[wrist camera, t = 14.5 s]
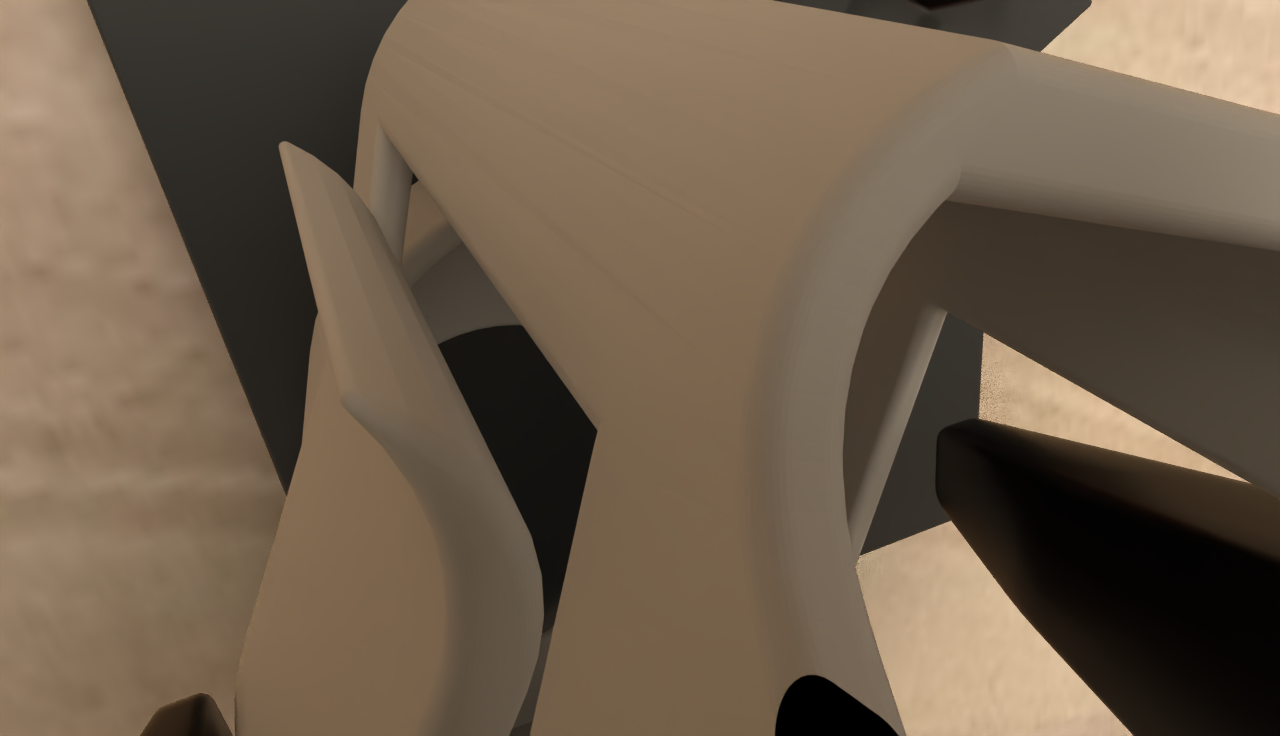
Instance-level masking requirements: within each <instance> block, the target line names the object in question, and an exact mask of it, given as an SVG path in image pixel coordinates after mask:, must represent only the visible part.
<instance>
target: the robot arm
mask: <svg viewBox="0 0 1280 736" xmlns="http://www.w3.org/2000/svg"><path fill="white" fill-rule="evenodd" d="M935 490H936V495H937V498H938V501H939V503H940V505H941V507H942V509H943V510H944V512H945V513H946V514H947V516H948V517H949V518H950V520H951V521H952V522H953V524H954V525H955V526H956V528H957V529H958V530H959V532H960V533H961V534H962V536H963V537H964V538H965V540H966V541H967V542H968V544H969V545H970V546H971V548H972V549H973V550H974V552H975V553H976V554H977V556H978V557H979V558H980V560H981V561H982V562H983V564H984V565H985V566H986V568H987V569H988V570H989V572H990V573H991V574H992V576H993V577H994V578H995V580H996V581H997V582H998V584H999V585H1000V586H1001V588H1002V589H1003V590H1004V592H1005V593H1006V594H1007V596H1008V597H1009V598H1010V599H1011V601H1012V602H1013V603H1014V604H1015V606H1016V607H1017V608H1018V609H1019V611H1020V612H1021V613H1022V614H1023V615H1024V617H1025V618H1026V619H1027V620H1028V621H1029V622H1030V623H1031V624H1032V626H1033V627H1034V628H1035V629H1036V630H1037V631H1038V632H1039V633H1040V635H1041V636H1042V637H1043V638H1044V639H1045V640H1046V641H1047V642H1048V643H1049V644H1050V645H1051V646H1052V648H1053V649H1054V650H1055V651H1056V652H1057V653H1058V654H1059V655H1060V656H1061V657H1062V658H1063V659H1064V661H1065V662H1066V663H1067V664H1068V665H1069V666H1070V667H1071V668H1072V669H1073V670H1074V671H1075V673H1076V674H1077V675H1078V676H1079V677H1080V678H1081V679H1082V680H1083V681H1084V682H1085V683H1086V684H1087V686H1088V687H1089V688H1090V689H1091V690H1092V691H1093V692H1094V693H1095V694H1096V695H1097V696H1098V697H1099V699H1100V700H1101V701H1102V702H1103V703H1104V704H1105V705H1106V706H1107V707H1108V708H1109V709H1110V711H1111V712H1112V713H1113V714H1114V715H1115V716H1116V717H1117V718H1118V719H1119V720H1120V721H1121V722H1122V724H1123V725H1124V726H1125V727H1126V728H1127V729H1128V730H1129V731H1130V732H1131V733H1132V734H1133V735H1134V736H1280V499H1278V498H1276V497H1275V496H1273V495H1271V494H1269V493H1268V492H1266V491H1264V490H1262V489H1260V488H1259V487H1257V486H1255V485H1253V484H1251V483H1247V482H1243V481H1238V480H1234V479H1230V478H1226V477H1222V476H1217V475H1213V474H1209V473H1205V472H1201V471H1196V470H1192V469H1188V468H1184V467H1180V466H1175V465H1171V464H1167V463H1163V462H1159V461H1154V460H1150V459H1146V458H1142V457H1138V456H1133V455H1129V454H1125V453H1121V452H1116V451H1112V450H1108V449H1104V448H1100V447H1096V446H1091V445H1087V444H1083V443H1079V442H1075V441H1070V440H1066V439H1062V438H1058V437H1054V436H1049V435H1045V434H1041V433H1037V432H1033V431H1028V430H1024V429H1020V428H1016V427H1012V426H1007V425H1003V424H999V423H995V422H991V421H986V420H982V419H978V418H970V419H966V420H963V421H960V422H957V423H954V424H952V425H949V426H946V427H944V428H943V429H942V430H940V432H939V434H938V436H937V441H936V470H935ZM140 736H233V735H232V733H231V731H230V729H229V727H228V725H227V723H226V721H225V719H224V718H223V716H222V714H221V712H220V710H219V708H218V706H217V704H216V702H215V701H214V699H213V698H212V697H211V696H210V695H209V694H205V693H198V694H195V695H193V696H190V697H187V698H184V699H181V700H179V701H176V702H173V703H170V704H167V705H165V706H163V707H161V708H160V709H159V710H158V711H157V712H156V713H155V714H154V715H153V716H152V718H151V720H150V721H149V723H148V724H147V726H146V727H145V729H144V730H143V732H142V733H141V735H140Z"/></svg>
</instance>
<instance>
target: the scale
mask: <svg viewBox="0 0 1280 736" xmlns="http://www.w3.org/2000/svg"><path fill="white" fill-rule="evenodd" d="M407 1H408V0H87V2H88V5H89V7H90V10H91V12H92V15H93V17H94V20H95V22H96V25H97V27H98V30H99V32H100V35H101V37H102V40H103V42H104V45H105V47H106V49H107V52H108V54H109V57H110V59H111V62H112V64H113V67H114V69H115V72H116V74H117V77H118V79H119V82H120V84H121V87H122V89H123V92H124V94H125V97H126V99H127V102H128V104H129V107H130V109H131V112H132V114H133V117H134V119H135V122H136V124H137V127H138V129H139V131H140V134H141V136H142V139H143V141H144V144H145V146H146V149H147V151H148V154H149V156H150V159H151V161H152V164H153V166H154V169H155V171H156V174H157V176H158V179H159V181H160V184H161V186H162V189H163V191H164V194H165V196H166V199H167V201H168V204H169V206H170V209H171V211H172V214H173V216H174V218H175V221H176V223H177V226H178V228H179V231H180V233H181V236H182V238H183V241H184V243H185V246H186V248H187V251H188V253H189V256H190V258H191V261H192V263H193V266H194V268H195V271H196V273H197V276H198V278H199V281H200V283H201V286H202V288H203V291H204V293H205V296H206V298H207V300H208V303H209V305H210V308H211V310H212V313H213V315H214V318H215V320H216V323H217V325H218V328H219V330H220V333H221V335H222V338H223V340H224V343H225V345H226V348H227V350H228V353H229V355H230V358H231V360H232V363H233V365H234V368H235V370H236V373H237V375H238V378H239V380H240V382H241V385H242V387H243V390H244V392H245V395H246V397H247V400H248V402H249V405H250V407H251V410H252V412H253V415H254V417H255V420H256V422H257V425H258V427H259V430H260V432H261V435H262V437H263V440H264V442H265V445H266V447H267V450H268V452H269V455H270V457H271V460H272V462H273V464H274V467H275V469H276V472H277V474H278V477H279V479H280V482H281V484H282V487H283V489H284V492H285V494H286V497H287V494H288V491H289V487H290V484H291V480H292V477H293V473H294V470H295V466H296V463H297V459H298V456H299V453H300V449H301V446H302V437H303V425H304V414H305V403H306V391H307V380H308V368H309V357H310V349H311V343H312V337H313V331H314V325H315V320H316V317H317V314H318V309H317V304H316V300H315V296H314V292H313V288H312V284H311V280H310V275H309V271H308V267H307V263H306V259H305V255H304V251H303V246H302V242H301V238H300V234H299V230H298V226H297V222H296V217H295V213H294V209H293V205H292V201H291V197H290V193H289V188H288V184H287V180H286V176H285V172H284V168H283V164H282V159H281V155H280V151H279V144H280V143H281V142H283V141H286V142H289V143H291V144H293V145H295V146H296V147H298V148H300V149H302V150H304V151H306V152H307V153H309V154H311V155H313V156H314V157H316V158H317V159H318V160H320V161H321V162H322V163H324V164H325V165H326V166H328V167H329V168H331V169H332V170H333V171H335V172H336V173H337V174H338V175H339V176H340V177H341V178H342V179H343V180H344V181H345V182H346V183H347V184H348V185H349V186H350V187H351V188H352V189H353V186H354V176H355V166H356V156H357V146H358V136H359V126H360V116H361V108H362V102H363V96H364V90H365V84H366V81H367V77H368V74H369V71H370V68H371V64H372V61H373V58H374V56H375V54H376V52H377V49H378V47H379V45H380V43H381V41H382V38H383V36H384V34H385V33H386V31H387V29H388V28H389V26H390V25H391V23H392V22H393V20H394V18H395V17H396V15H397V14H398V12H399V11H400V10H401V8H402V7H403V6H404V5H405V4H406V2H407ZM774 1H779V2H785V3H790V4H796V5H802V6H807V7H813V8H818V9H824V10H829V11H835V12H840V13H846V14H852V15H857V16H863V17H868V18H874V19H879V20H885V21H890V22H896V23H902V24H907V25H913V26H918V27H924V28H929V29H935V30H941V31H946V32H952V33H957V34H963V35H968V36H974V37H979V38H985V39H991V40H996V41H1000V42H1003V43H1007V44H1011V45H1015V46H1019V47H1022V48H1026V49H1030V50H1034V51H1038V52H1040V51H1042V50H1043V49H1044V48H1045V47H1046V46H1047V45H1048V44H1049V43H1050V42H1051V41H1052V40H1053V39H1055V38H1056V37H1057V36H1058V35H1059V34H1060V33H1061V32H1062V31H1063V30H1064V29H1065V28H1067V27H1068V26H1069V25H1070V24H1071V23H1072V22H1073V21H1074V20H1075V19H1076V18H1077V17H1078V16H1080V15H1081V14H1082V13H1083V12H1084V11H1085V10H1086V9H1087V8H1088V7H1089V6H1090V5H1091V3H1092V1H1091V0H774ZM417 181H419V180H418V178H417V177H416V176H415V174H414V173H413V176H412V184H411V186H412V185H413V184H415V183H416V182H417ZM438 347H439V349H440V351H441V353H442V355H443V357H444V359H445V361H446V363H447V365H448V367H449V369H450V371H451V373H452V375H453V377H454V379H455V382H456V384H457V386H458V388H459V390H460V392H461V394H462V396H463V398H464V400H465V402H466V404H467V406H468V408H469V410H470V412H471V414H472V416H473V418H474V420H475V422H476V424H477V426H478V428H479V430H480V432H481V434H482V436H483V438H484V440H485V443H486V445H487V447H488V449H489V451H490V453H491V455H492V457H493V459H494V461H495V463H496V465H497V467H498V469H499V471H500V473H501V475H502V477H503V479H504V481H505V483H506V485H507V487H508V489H509V491H510V493H511V495H512V497H513V499H514V501H515V504H516V506H517V508H518V510H519V512H520V514H521V516H522V518H523V520H524V522H525V524H526V526H527V528H528V530H529V532H530V534H531V537H532V540H533V544H534V548H535V552H536V555H537V559H538V563H539V567H540V570H541V574H542V588H543V605H544V620H543V627H542V633H544V632H545V631H547V630H548V629H550V628H551V627H553V626H554V624H555V619H556V615H557V610H558V606H559V601H560V597H561V592H562V588H563V583H564V579H565V574H566V570H567V565H568V561H569V556H570V551H571V547H572V542H573V538H574V533H575V529H576V524H577V520H578V515H579V511H580V506H581V502H582V497H583V493H584V488H585V484H586V479H587V475H588V470H589V466H590V461H591V457H592V452H593V448H594V444H595V440H596V436H597V432H598V430H597V429H596V428H595V426H594V425H593V423H592V422H591V421H590V419H589V418H588V416H587V415H586V414H585V412H584V411H583V409H582V408H581V407H580V405H579V404H578V402H577V401H576V400H575V398H574V397H573V395H572V394H571V393H570V391H569V390H568V388H567V387H566V386H565V384H564V383H563V381H562V380H561V379H560V377H559V376H558V374H557V373H556V372H555V370H554V369H553V367H552V366H551V365H550V363H549V362H548V360H547V359H546V358H545V356H544V355H543V353H542V352H541V351H540V349H539V348H538V346H537V345H536V344H535V342H534V341H533V339H532V338H531V337H530V335H529V334H528V332H527V331H526V330H525V328H524V327H523V326H522V325H507V326H494V327H489V328H483V329H478V330H474V331H471V332H468V333H464V334H461V335H458V336H456V337H453V338H451V339H449V340H446V341H444V342H441V343H440V344H438ZM982 348H983V332H982V331H980V330H979V329H977V328H975V327H973V326H972V325H970V324H968V323H966V322H965V321H963V320H961V319H959V318H957V317H956V316H954V315H952V314H950V313H949V312H948V313H947V315H946V317H945V320H944V322H943V325H942V328H941V331H940V334H939V336H938V339H937V342H936V345H935V347H934V350H933V353H932V356H931V358H930V361H929V364H928V367H927V370H926V372H925V375H924V378H923V381H922V383H921V386H920V389H919V392H918V394H917V397H916V400H915V403H914V406H913V408H912V411H911V414H910V417H909V419H908V422H907V425H906V428H905V430H904V433H903V436H902V439H901V442H900V444H899V447H898V450H897V453H896V455H895V458H894V461H893V464H892V466H891V469H890V472H889V475H888V478H887V480H886V483H885V486H884V489H883V491H882V494H881V497H880V500H879V503H878V505H877V508H876V511H875V514H874V516H873V519H872V522H871V525H870V527H869V530H868V533H867V536H866V539H865V541H864V544H863V547H862V550H861V552H860V555H859V556H861V555H863V554H866V553H868V552H871V551H874V550H876V549H879V548H881V547H884V546H886V545H889V544H892V543H894V542H897V541H899V540H902V539H904V538H907V537H910V536H912V535H915V534H917V533H920V532H923V531H925V530H928V529H930V528H933V527H935V526H938V525H941V524H943V523H946V522H948V521H951V520H950V518H949V517H948V516H947V514H946V513H945V512H944V510H943V509H942V507H941V505H940V503H939V501H938V498H937V495H936V490H935V470H936V441H937V436H938V434H939V432H940V430H942V429H943V428H944V427H946V426H949V425H952V424H954V423H957V422H960V421H963V420H966V419H970V418H978V419H979V401H980V383H981V366H982Z"/></svg>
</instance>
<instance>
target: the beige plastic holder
mask: <svg viewBox="0 0 1280 736" xmlns="http://www.w3.org/2000/svg"><path fill="white" fill-rule="evenodd" d="M279 151H280V155H281V159H282V164H283V168H284V172H285V176H286V180H287V184H288V188H289V193H290V197H291V201H292V205H293V209H294V213H295V217H296V222H297V226H298V230H299V234H300V238H301V242H302V246H303V251H304V255H305V259H306V263H307V267H308V271H309V275H310V280H311V284H312V288H313V292H314V296H315V300H316V304H317V309H318V314H317V317H316V320H315V325H314V331H313V337H312V343H311V349H310V357H309V368H308V380H307V391H306V403H305V414H304V425H303V437H302V446H301V449H300V453H299V456H298V459H297V463H296V466H295V470H294V473H293V477H292V480H291V484H290V487H289V491H288V494H287V497H286V501H285V504H284V508H283V511H282V515H281V518H280V522H279V525H278V528H277V532H276V535H275V539H274V542H273V546H272V549H271V553H270V556H269V560H268V563H267V566H266V570H265V573H264V577H263V580H262V584H261V587H260V591H259V594H258V597H257V601H256V604H255V608H254V611H253V615H252V618H251V622H250V625H249V629H248V632H247V635H246V639H245V642H244V646H243V649H242V654H241V658H240V662H239V667H238V671H237V678H236V688H235V698H234V702H235V736H906V733H905V730H904V727H903V724H902V721H901V718H900V715H899V712H898V709H897V706H896V703H895V700H894V697H893V694H892V691H891V688H890V685H889V682H888V679H887V676H886V673H885V669H884V666H883V663H882V660H881V657H880V654H879V651H878V648H877V644H876V641H875V638H874V635H873V631H872V628H871V625H870V622H869V618H868V614H867V610H866V607H865V603H864V599H863V595H862V591H861V588H860V584H859V580H858V576H857V573H856V568H855V566H856V563H857V561H858V558H859V555H860V552H861V550H862V547H863V544H864V541H865V539H866V536H867V533H868V530H869V527H870V525H871V522H872V519H873V516H874V514H875V511H876V508H877V505H878V503H879V500H880V497H881V494H882V491H883V489H884V486H885V483H886V480H887V478H888V475H889V472H890V469H891V466H892V464H893V461H894V458H895V455H896V453H897V450H898V447H899V444H900V442H901V439H902V436H903V433H904V430H905V428H906V425H907V422H908V419H909V417H910V414H911V411H912V408H913V406H914V403H915V400H916V397H917V394H918V392H919V389H920V386H921V383H922V381H923V378H924V375H925V372H926V370H927V367H928V364H929V361H930V358H931V356H932V353H933V350H934V347H935V345H936V342H937V339H938V336H939V334H940V331H941V328H942V325H943V322H944V320H945V317H946V315H947V313H948V312H949V313H950V314H952V315H954V316H956V317H957V318H959V319H961V320H963V321H965V322H966V323H968V324H970V325H972V326H973V327H975V328H977V329H979V330H980V331H982V332H984V333H986V334H988V335H989V336H991V337H993V338H995V339H996V340H998V341H1000V342H1002V343H1004V344H1005V345H1007V346H1009V347H1011V348H1012V349H1014V350H1016V351H1018V352H1019V353H1021V354H1023V355H1025V356H1027V357H1028V358H1030V359H1032V360H1034V361H1035V362H1037V363H1039V364H1041V365H1042V366H1044V367H1046V368H1048V369H1050V370H1051V371H1053V372H1055V373H1057V374H1058V375H1060V376H1062V377H1064V378H1066V379H1067V380H1069V381H1071V382H1073V383H1074V384H1076V385H1078V386H1080V387H1081V388H1083V389H1085V390H1087V391H1089V392H1090V393H1092V394H1094V395H1096V396H1097V397H1099V398H1101V399H1103V400H1105V401H1106V402H1108V403H1110V404H1112V405H1113V406H1115V407H1117V408H1119V409H1120V410H1122V411H1124V412H1126V413H1128V414H1129V415H1131V416H1133V417H1135V418H1136V419H1138V420H1140V421H1142V422H1143V423H1145V424H1147V425H1149V426H1151V427H1152V428H1154V429H1156V430H1158V431H1159V432H1161V433H1163V434H1165V435H1167V436H1168V437H1170V438H1172V439H1174V440H1175V441H1177V442H1179V443H1181V444H1182V445H1184V446H1186V447H1188V448H1190V449H1191V450H1193V451H1195V452H1197V453H1198V454H1200V455H1202V456H1204V457H1205V458H1207V459H1209V460H1211V461H1213V462H1214V463H1216V464H1218V465H1220V466H1221V467H1223V468H1225V469H1227V470H1229V471H1230V472H1232V473H1234V474H1236V475H1237V476H1239V477H1241V478H1243V479H1244V480H1246V481H1248V482H1250V483H1252V484H1253V485H1255V486H1257V487H1259V488H1260V489H1262V490H1264V491H1266V492H1268V493H1269V494H1271V495H1273V496H1275V497H1276V498H1278V499H1280V115H1279V114H1275V113H1271V112H1267V111H1263V110H1259V109H1256V108H1252V107H1248V106H1244V105H1240V104H1236V103H1233V102H1229V101H1225V100H1221V99H1217V98H1214V97H1210V96H1206V95H1202V94H1198V93H1194V92H1191V91H1187V90H1183V89H1179V88H1175V87H1171V86H1168V85H1164V84H1160V83H1156V82H1152V81H1149V80H1145V79H1141V78H1137V77H1133V76H1129V75H1126V74H1122V73H1118V72H1114V71H1110V70H1106V69H1103V68H1099V67H1095V66H1091V65H1087V64H1084V63H1080V62H1076V61H1072V60H1068V59H1064V58H1061V57H1057V56H1053V55H1049V54H1045V53H1042V52H1038V51H1034V50H1030V49H1026V48H1022V47H1019V46H1015V45H1011V44H1007V43H1003V42H1000V41H996V40H991V39H985V38H979V37H974V36H968V35H963V34H957V33H952V32H946V31H941V30H935V29H929V28H924V27H918V26H913V25H907V24H902V23H896V22H890V21H885V20H879V19H874V18H868V17H863V16H857V15H852V14H846V13H840V12H835V11H829V10H824V9H818V8H813V7H807V6H802V5H796V4H790V3H785V2H779V1H774V0H408V1H407V2H406V4H405V5H404V6H403V7H402V8H401V10H400V11H399V12H398V14H397V15H396V17H395V18H394V20H393V22H392V23H391V25H390V26H389V28H388V29H387V31H386V33H385V34H384V36H383V38H382V41H381V43H380V45H379V47H378V49H377V52H376V54H375V56H374V58H373V61H372V64H371V68H370V71H369V74H368V77H367V81H366V84H365V90H364V96H363V102H362V108H361V116H360V126H359V136H358V146H357V156H356V166H355V176H354V186H353V189H352V188H351V187H350V186H349V185H348V184H347V183H346V182H345V181H344V180H343V179H342V178H341V177H340V176H339V175H338V174H337V173H336V172H335V171H333V170H332V169H331V168H329V167H328V166H326V165H325V164H324V163H322V162H321V161H320V160H318V159H317V158H316V157H314V156H313V155H311V154H309V153H307V152H306V151H304V150H302V149H300V148H298V147H296V146H295V145H293V144H291V143H289V142H286V141H283V142H281V143H280V144H279ZM413 173H414V174H415V176H416V177H417V178H418V180H419V181H417V182H416V183H415V184H413V185H412V186H411V184H412V176H413ZM507 325H522V326H523V327H524V328H525V330H526V331H527V332H528V334H529V335H530V337H531V338H532V339H533V341H534V342H535V344H536V345H537V346H538V348H539V349H540V351H541V352H542V353H543V355H544V356H545V358H546V359H547V360H548V362H549V363H550V365H551V366H552V367H553V369H554V370H555V372H556V373H557V374H558V376H559V377H560V379H561V380H562V381H563V383H564V384H565V386H566V387H567V388H568V390H569V391H570V393H571V394H572V395H573V397H574V398H575V400H576V401H577V402H578V404H579V405H580V407H581V408H582V409H583V411H584V412H585V414H586V415H587V416H588V418H589V419H590V421H591V422H592V423H593V425H594V426H595V428H596V429H597V430H598V432H597V436H596V440H595V444H594V448H593V452H592V457H591V461H590V466H589V470H588V475H587V479H586V484H585V488H584V493H583V497H582V502H581V506H580V511H579V515H578V520H577V524H576V529H575V533H574V538H573V542H572V547H571V551H570V556H569V561H568V565H567V570H566V574H565V579H564V583H563V588H562V592H561V597H560V601H559V606H558V610H557V615H556V619H555V624H554V626H553V627H551V628H550V629H548V630H547V631H545V632H544V633H542V627H543V620H544V605H543V588H542V574H541V570H540V567H539V563H538V559H537V555H536V552H535V548H534V544H533V540H532V537H531V534H530V532H529V530H528V528H527V526H526V524H525V522H524V520H523V518H522V516H521V514H520V512H519V510H518V508H517V506H516V504H515V501H514V499H513V497H512V495H511V493H510V491H509V489H508V487H507V485H506V483H505V481H504V479H503V477H502V475H501V473H500V471H499V469H498V467H497V465H496V463H495V461H494V459H493V457H492V455H491V453H490V451H489V449H488V447H487V445H486V443H485V440H484V438H483V436H482V434H481V432H480V430H479V428H478V426H477V424H476V422H475V420H474V418H473V416H472V414H471V412H470V410H469V408H468V406H467V404H466V402H465V400H464V398H463V396H462V394H461V392H460V390H459V388H458V386H457V384H456V382H455V379H454V377H453V375H452V373H451V371H450V369H449V367H448V365H447V363H446V361H445V359H444V357H443V355H442V353H441V351H440V349H439V347H438V344H440V343H441V342H444V341H446V340H449V339H451V338H453V337H456V336H458V335H461V334H464V333H468V332H471V331H474V330H478V329H483V328H489V327H494V326H507Z"/></svg>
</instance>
